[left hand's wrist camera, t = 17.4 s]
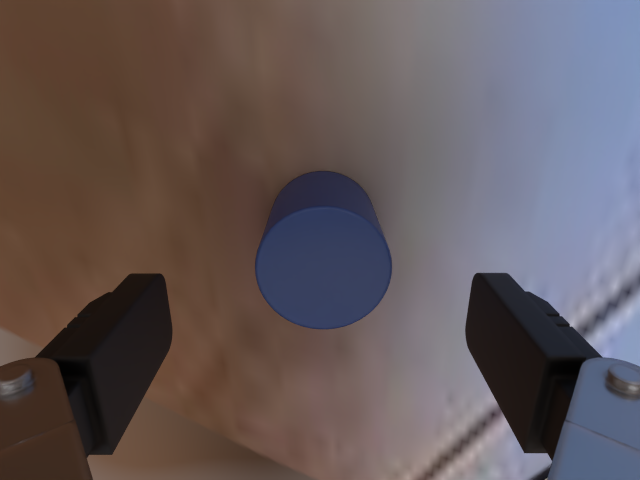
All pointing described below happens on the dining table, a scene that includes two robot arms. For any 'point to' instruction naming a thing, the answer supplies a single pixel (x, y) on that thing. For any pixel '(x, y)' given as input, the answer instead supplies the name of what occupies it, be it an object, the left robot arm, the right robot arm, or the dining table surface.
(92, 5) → the dining table surface
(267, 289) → the can
